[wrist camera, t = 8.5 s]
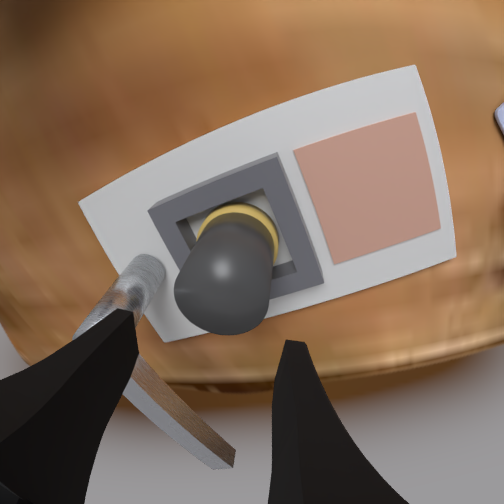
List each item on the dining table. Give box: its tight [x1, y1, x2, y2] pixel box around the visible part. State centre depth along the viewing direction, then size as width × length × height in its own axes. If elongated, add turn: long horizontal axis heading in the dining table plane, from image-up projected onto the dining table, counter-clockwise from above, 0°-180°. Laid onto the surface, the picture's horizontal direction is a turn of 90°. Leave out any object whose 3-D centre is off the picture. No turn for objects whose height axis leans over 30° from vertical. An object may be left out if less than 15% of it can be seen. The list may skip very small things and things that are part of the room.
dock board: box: [78, 65, 456, 343], centre depth 18 cm, size 22×12×2 cm, turn 113°
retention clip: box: [73, 254, 236, 469], centre depth 18 cm, size 13×2×8 cm, turn 27°
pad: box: [293, 112, 441, 264], centre depth 16 cm, size 7×7×1 cm
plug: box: [174, 202, 279, 335], centre depth 16 cm, size 4×4×6 cm
